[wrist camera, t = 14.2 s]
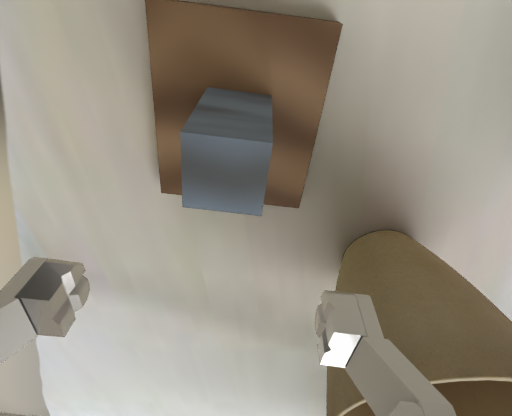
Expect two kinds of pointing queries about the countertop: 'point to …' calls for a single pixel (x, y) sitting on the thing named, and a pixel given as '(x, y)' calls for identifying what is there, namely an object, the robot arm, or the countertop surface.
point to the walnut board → (241, 80)
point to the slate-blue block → (227, 152)
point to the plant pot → (427, 326)
